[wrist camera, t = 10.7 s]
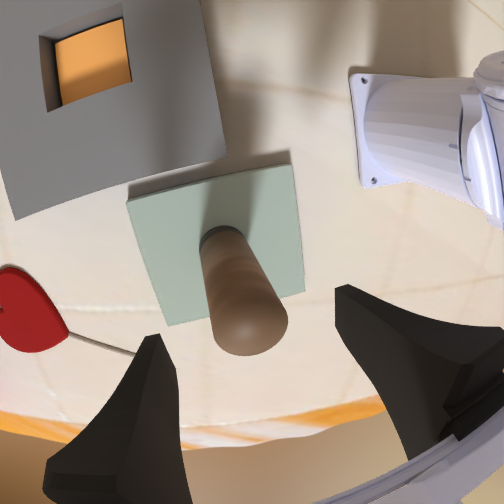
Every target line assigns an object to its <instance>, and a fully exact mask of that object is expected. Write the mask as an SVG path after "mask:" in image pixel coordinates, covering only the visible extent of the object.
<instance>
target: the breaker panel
mask: <svg viewBox="0 0 504 504" xmlns="http://www.w3.org/2000/svg"><path fill="white" fill-rule="evenodd" d="M120 19H122V20H123V21H124V26H125V34H126V41H127V48H128V55H129V62H130V68H131V74H132V80H133V82H130V83H127V84H123V85H120V86H117V87H114V88H111V89H108V90H105V91H102V92H99V93H96V94H93V95H90V96H88V97H85V98H82V99H80V100H77V101H74V102H72V103H69V104H67V105H65V106H63V103H62V97H61V90H60V84H59V76H58V68H57V59H56V48H55V44H56V43H58V42H60V41H63V40H65V39H67V38H70V37H72V36H75V35H77V34H80V33H82V32H85V31H88V30H90V29H93V28H96V27H99V26H102V25H105V24H108V23H111V22H114V21H117V20H120ZM226 157H228V155H227V150H226V144H225V139H224V133H223V128H222V123H221V117H220V112H219V106H218V101H217V95H216V90H215V84H214V79H213V73H212V68H211V62H210V56H209V51H208V45H207V40H206V34H205V28H204V23H203V17H202V11H201V6H200V0H0V170H1V174H2V178H3V181H4V185H5V189H6V192H7V196H8V199H9V202H10V206H11V209H12V212H13V215H14V218H15V221H16V220H19V219H21V218H24V217H26V216H29V215H31V214H34V213H36V212H39V211H42V210H44V209H47V208H50V207H52V206H55V205H58V204H61V203H64V202H66V201H69V200H72V199H75V198H78V197H81V196H84V195H87V194H90V193H93V192H96V191H99V190H102V189H106V188H109V187H112V186H115V185H119V184H122V183H126V182H129V181H132V180H136V179H139V178H143V177H147V176H150V175H154V174H158V173H162V172H166V171H170V170H174V169H178V168H182V167H186V166H190V165H194V164H199V163H203V162H208V161H212V160H217V159H221V158H226Z"/></svg>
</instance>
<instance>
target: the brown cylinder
mask: <svg viewBox="0 0 504 504" xmlns="http://www.w3.org/2000/svg"><path fill="white" fill-rule="evenodd" d="M199 254H200V261H201V267H202V273H203V279H204V285H205V291H206V297H207V303H208V308H209V314H210V319H211V325H212V330H213V335H214V339H215V341H216V343H217V344H218V345H219V347H221V348H222V349H223V350H224V351H226V352H228V353H230V354H233V355H238V356H251V355H256V354H260V353H262V352H265V351H267V350H269V349H270V348H272V347H273V346H274V345H276V344H277V343H278V342H279V341H280V340H281V338H282V337H283V335H284V334H285V332H286V329H287V325H288V316H287V312H286V310H285V308H284V307H283V305H282V303H281V301H280V299H279V298H278V296H277V294H276V292H275V290H274V289H273V287H272V285H271V283H270V282H269V280H268V278H267V276H266V274H265V273H264V271H263V269H262V267H261V265H260V264H259V262H258V260H257V258H256V256H255V255H254V253H253V251H252V249H251V247H250V246H249V244H248V242H247V240H246V239H245V237H244V235H243V234H242V233H241V232H240V231H239V230H238V229H236V228H234V227H232V226H226V225H222V226H217V227H214V228H212V229H210V230H209V231H208V232H206V233H205V234H204V236H203V237H202V239H201V241H200V244H199Z"/></svg>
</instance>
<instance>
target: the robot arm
mask: <svg viewBox="0 0 504 504" xmlns="http://www.w3.org/2000/svg"><path fill="white" fill-rule="evenodd" d="M473 75H474V78H467V77H454V78H423V77H413V76H403V75H389V74H368V73H355V74H352V75H351V76H350V78H349V82H350V89H351V96H352V103H353V111H354V119H355V128H356V138H357V148H358V160H359V174H360V184H361V186H362V187H364V188H368V189H369V188H374V187H380V186H385V185H391V184H396V183H402V182H408V181H410V182H413V183H416V184H418V185H421V186H424V187H427V188H429V189H432V190H434V191H437V192H440V193H442V194H445V195H447V196H450V197H452V198H455V199H457V200H460V201H462V202H464V203H467V204H469V205H471V206H474V207H476V208H478V209H481V210H482V211H484V212H485V214H486V216H487V219H488V223H489V224H491V225H493V226H495V227H497V228H499V229H501V230H502V231H504V51H500V52H496V53H493V54H490V55H488V56H486V57H484V58H483V59H482V60H481V62H480V64H479V66H478V68H477V69H476V70H475V72H474V74H473ZM361 78H364V80H365V83H364V84H363V83H362V81H361ZM373 177H374V182H373V183H372V182H371V180H372V178H373ZM335 327H336V329H337V331H338V333H339V335H340V337H341V338H342V340H343V342H344V344H345V346H346V347H347V348H348V350H349V351H350V353H351V354H352V355H353V357H354V358H355V360H356V361H357V362H358V364H359V365H360V367H361V368H362V369H363V371H364V372H365V373H366V375H367V376H368V378H369V379H370V380H371V382H372V384H373V385H374V387H375V388H376V390H377V392H378V394H379V396H380V397H381V399H382V401H383V403H384V405H385V407H386V409H387V411H388V413H389V415H390V417H391V419H392V421H393V423H394V426H395V428H396V430H397V433H398V435H399V437H400V439H401V442H402V445H403V447H404V450H405V453H406V455H407V458H408V462H406V463H404V464H403V465H401V466H399V467H397V468H395V469H393V470H391V471H389V472H387V473H385V474H383V475H381V476H379V477H377V478H375V479H372V480H370V481H368V482H366V483H364V484H361V485H359V486H357V487H354V488H352V489H349V490H347V491H345V492H342V493H339V494H337V495H334V496H331V497H329V498H326V499H323V500H320V501H317V502H314V503H311V504H368V503H370V502H372V503H370V504H463V503H462V502H461V500H460V499H462V498H463V497H465V496H466V495H467V494H469V493H470V492H471V491H472V490H474V489H475V488H476V487H477V486H479V485H480V484H481V483H482V482H484V481H485V480H486V479H487V478H488V477H489V476H491V475H492V474H493V473H494V472H495V471H496V470H497V469H499V468H500V467H501V466H502V465H503V464H504V373H503V372H502V370H503V369H504V330H503V329H502V328H501V327H482V326H469V325H460V324H454V323H449V322H444V321H439V320H435V319H431V318H428V317H425V316H421V315H418V314H415V313H412V312H409V311H407V310H404V309H402V308H399V307H397V306H394V305H392V304H390V303H388V302H385V301H383V300H381V299H379V298H377V297H375V296H373V295H370V294H368V293H366V292H364V291H362V290H360V289H358V288H356V287H354V286H351V285H349V284H346V285H343V286H340V287H337V288H335ZM405 485H407V486H405ZM403 486H405V487H403ZM401 487H403V488H401ZM399 488H401V489H399ZM42 489H43V492H44V494H45V495H46V496H47V497H48V498H49V499H51V500H52V501H54V502H55V503H57V504H193V503H192V499H191V495H190V491H189V487H188V483H187V478H186V473H185V468H184V463H183V458H182V452H181V445H180V431H179V389H178V381H177V374H176V368H175V366H174V364H173V362H172V360H171V358H170V356H169V353H168V351H167V349H166V347H165V345H164V342H163V340H162V338H161V336H160V333H159V334H154V335H150V336H145V338H144V340H143V341H142V343H141V345H140V347H139V349H138V351H137V353H136V355H135V356H134V358H133V360H132V362H131V364H130V366H129V368H128V369H127V371H126V373H125V375H124V377H123V378H122V380H121V382H120V383H119V385H118V386H117V388H116V390H115V391H114V393H113V394H112V396H111V397H110V399H109V400H108V401H107V403H106V404H105V405H104V407H103V408H102V409H101V411H100V412H99V413H98V414H97V415H96V416H95V417H94V419H93V420H92V421H91V422H90V423H89V424H88V425H87V426H86V428H85V429H84V430H83V431H82V432H81V433H80V434H79V435H77V436H76V437H75V438H74V439H73V440H72V441H71V442H70V443H69V444H67V445H66V446H65V447H64V448H63V449H61V450H60V451H58V452H57V453H56V454H55V455H53V456H52V457H50V458H49V459H48V460H47V463H46V469H45V475H44V481H43V488H42ZM397 489H399V490H397ZM395 490H396V491H395ZM393 491H395V492H393ZM391 492H393V493H391ZM389 493H391V494H389ZM387 494H389V495H387ZM385 495H387V496H385ZM383 496H385V497H383ZM381 497H383V498H381ZM379 498H380V499H379ZM377 499H378V500H377ZM375 500H376V501H375ZM373 501H374V502H373Z"/></svg>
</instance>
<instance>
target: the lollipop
mask: <svg viewBox="0 0 504 504" xmlns="http://www.w3.org/2000/svg"><path fill="white" fill-rule="evenodd" d="M0 306H1V307H2V308H0V336H1V338H2V339H3V340H4V341H5V342H6V343H7V344H8V345H9V346H11V347H12V348H14V349H16V350H18V351H21V352H27V353H35V352H41V351H44V350H47V349H49V348H52V347H54V346H55V345H57V344H59V343H60V342H62V341H63V340H65V339H66V338H67V337H68V336H69V337H72V338H75V339H77V340H80V341H83V342H86V343H89V344H92V345H95V346H98V347H101V348H104V349H107V350H110V351H114V352H117V353H120V354H124V355H127V356H130V357H134V356H135V355H136V354H135V353H131V352H128V351H124V350H121V349H118V348H114V347H111V346H108V345H105V344H102V343H99V342H96V341H93V340H90V339H87V338H84V337H81V336H78V335H76V334H73V333H70V332H69V330H68V329H67V327H66V325H65V323H64V321H63V319H62V318H61V316H60V314H59V312H58V311H57V309H56V307H55V306H54V304H53V303H52V302H51V300H50V299H49V297H48V296H47V294H46V293H45V292H44V290H43V289H42V288H41V287H40V286H39V285H38V284H37V283H36V282H35V281H34V280H33V279H32V278H31V277H30V276H29V275H28V274H26V273H25V272H23V271H21V270H19V269H16V268H11V267H8V268H4V269H2V270H1V271H0Z"/></svg>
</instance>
